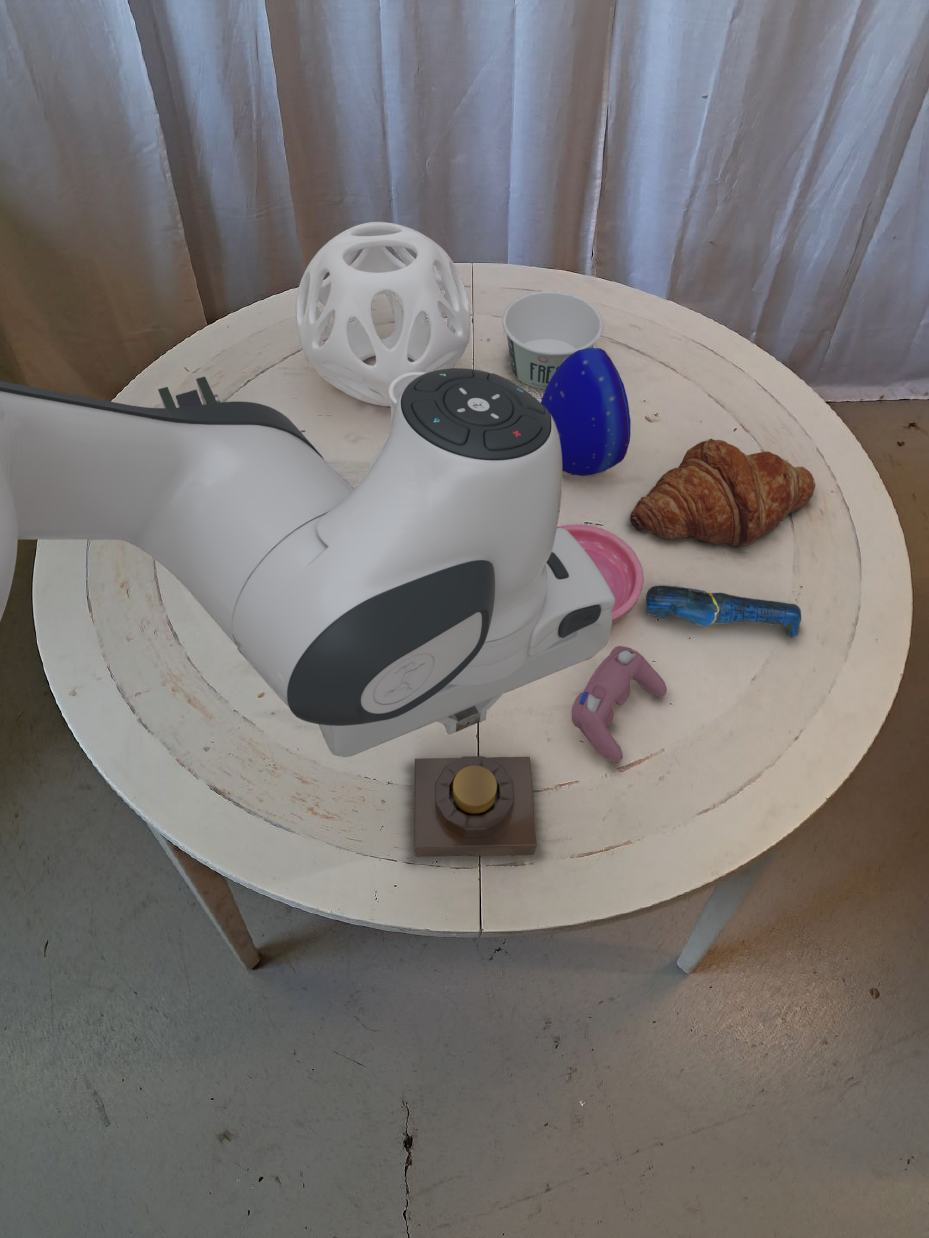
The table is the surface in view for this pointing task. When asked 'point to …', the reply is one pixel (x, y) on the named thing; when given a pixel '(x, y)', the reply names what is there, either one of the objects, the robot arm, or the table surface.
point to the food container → (548, 333)
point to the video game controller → (612, 697)
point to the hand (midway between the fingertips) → (462, 719)
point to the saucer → (612, 565)
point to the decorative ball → (353, 297)
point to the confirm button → (474, 789)
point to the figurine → (720, 608)
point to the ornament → (589, 412)
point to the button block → (473, 834)
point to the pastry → (723, 495)
